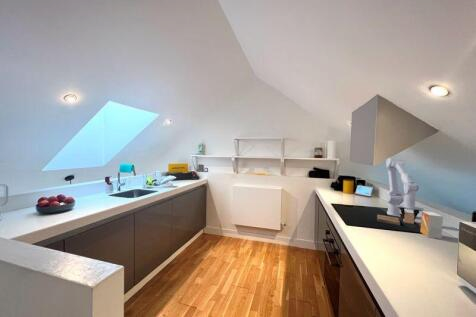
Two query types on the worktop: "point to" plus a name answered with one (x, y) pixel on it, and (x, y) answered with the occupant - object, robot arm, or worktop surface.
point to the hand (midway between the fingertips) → (408, 219)
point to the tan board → (388, 219)
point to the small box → (431, 224)
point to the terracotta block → (408, 217)
